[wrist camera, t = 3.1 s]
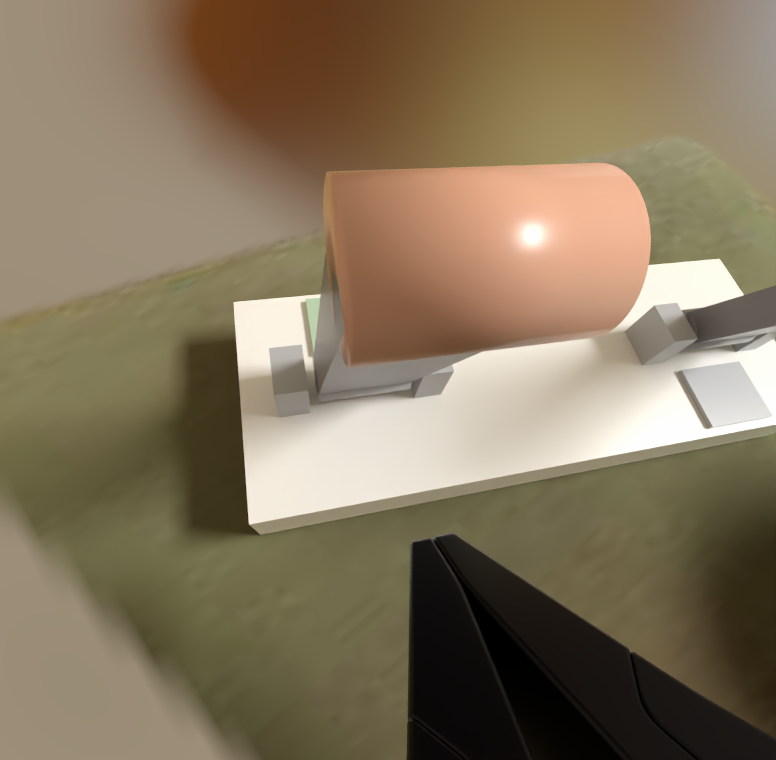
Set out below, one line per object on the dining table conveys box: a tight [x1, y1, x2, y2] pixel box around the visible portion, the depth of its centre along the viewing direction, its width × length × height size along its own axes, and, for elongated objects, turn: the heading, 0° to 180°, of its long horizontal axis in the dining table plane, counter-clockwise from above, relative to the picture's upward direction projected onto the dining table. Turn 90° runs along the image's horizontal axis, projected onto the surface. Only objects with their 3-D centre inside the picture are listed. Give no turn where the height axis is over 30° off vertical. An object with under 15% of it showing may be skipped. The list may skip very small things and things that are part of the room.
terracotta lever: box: [312, 163, 651, 402], centre depth 9 cm, size 2×3×11 cm, turn 102°
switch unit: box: [234, 259, 776, 535], centre depth 17 cm, size 8×22×4 cm, turn 102°
